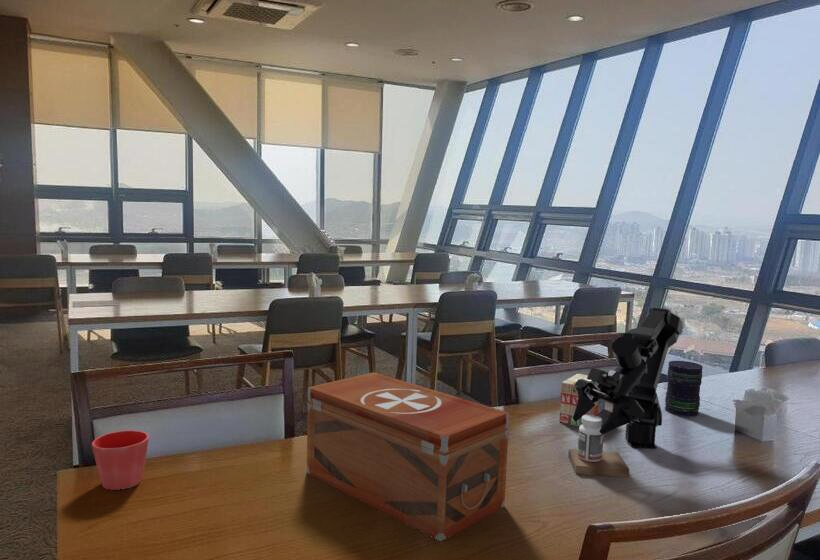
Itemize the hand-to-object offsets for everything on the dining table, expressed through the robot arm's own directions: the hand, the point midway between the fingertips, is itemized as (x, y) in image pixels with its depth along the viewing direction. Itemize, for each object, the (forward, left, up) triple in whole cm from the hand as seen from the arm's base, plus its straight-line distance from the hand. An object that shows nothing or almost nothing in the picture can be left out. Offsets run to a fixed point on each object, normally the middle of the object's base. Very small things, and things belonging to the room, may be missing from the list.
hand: (587, 426), depth 146 cm
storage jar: (-39, -48, -10) cm, 63 cm away
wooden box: (+42, +17, -10) cm, 47 cm away
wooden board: (-3, -1, -10) cm, 11 cm away
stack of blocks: (-7, -39, -10) cm, 41 cm away
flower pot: (+102, +23, -10) cm, 105 cm away
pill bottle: (-1, -1, -8) cm, 8 cm away
